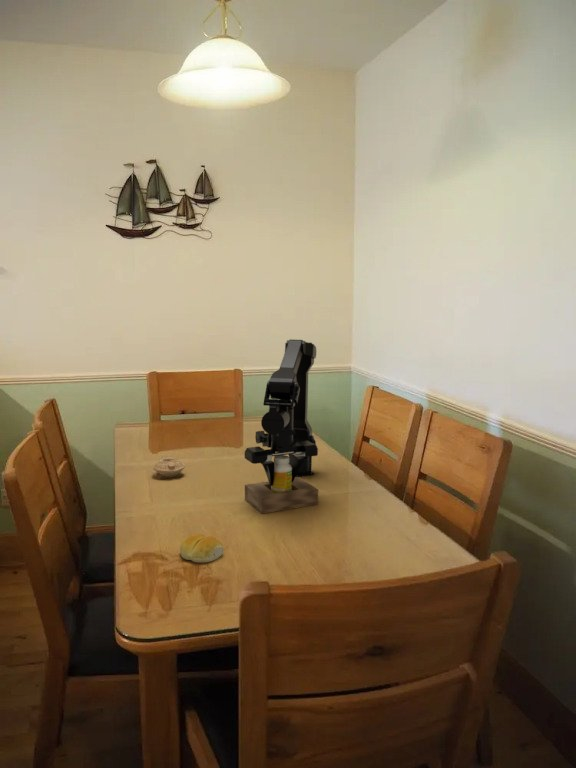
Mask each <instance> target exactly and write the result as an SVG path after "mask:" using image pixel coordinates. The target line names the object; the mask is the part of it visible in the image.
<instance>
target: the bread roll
mask: <svg viewBox="0 0 576 768" xmlns="http://www.w3.org/2000/svg"><path fill="white" fill-rule="evenodd" d="M179 550H180V551H179V552H180V556H181V557H182V558H183V559H184V560H187V561H192V562H194V563H201V564H202V563H203V564H204V563H210V562H213V561H216V560H218V559H219V558H220V557H221V556H222V555H223V554H224V551H225V550H224V545H223V543H222V542H221V541H220V540H219V539H217V538H216V537H213V536H206V535H204V534H201V533H198V534H197V533H196V534H195V533H194V534H191V535H189V536H187V537H185V538H184V539H183V540H182V541H181V544H180V547H179Z"/></svg>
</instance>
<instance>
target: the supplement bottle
mask: <svg viewBox="0 0 576 768" xmlns="http://www.w3.org/2000/svg"><path fill="white" fill-rule="evenodd" d="M273 462H274V463H275V464H274V482H273V485H272V486H271V491H273V492H274V493H279V492H285V491H292V467H291V465H290V464H288V463H289V455H280V456H273Z"/></svg>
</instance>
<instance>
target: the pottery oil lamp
mask: <svg viewBox="0 0 576 768" xmlns="http://www.w3.org/2000/svg"><path fill="white" fill-rule="evenodd" d="M185 468H186V464H184V463H183V461H182V460H180V459H179V458H174V457H171V456H169V455H167V456H162V457H161V459H159V460H158V461H157V462H156V463H155V464H154V465H153V467H152V469H153V470H154V471H155V472H156V473H158V474H159V475H161V476H162V477H166V478H172V477H176V476H177V475H178V474H179V473H181V472H182V471H184V469H185Z"/></svg>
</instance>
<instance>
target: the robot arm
mask: <svg viewBox="0 0 576 768" xmlns="http://www.w3.org/2000/svg"><path fill="white" fill-rule="evenodd" d="M284 344H285V345H284V354H283V358H282V359H281V363H280V366H279V369H277V370H276V371H274V372H272V373H271V376H270V378H269V380H267V382H266V388H265V393H264V399H263V404H262V405H263V406H266V407H267V406H268V411H267V412H266V413H264V414H263V416H262V417H261V422H260V424H261V427H262V429H263V430H258V431H255V436H254V437H255V443H256V444H258V445H259V444H262V447H261V446H251V447H247V448H246V449H245V450H244V459H245V460H247V461H248V462H250V463H251V464H255V465H256V464H261V465H262V467H263V469H264V471H265V475H266V477H267V482H269V483H270V485H271V486H272V485H273V482H274V464H275V463H274V460H273V461H272V458H273V457H275V456H280V455H285V456H288V457H289V463H288V464H290V465H291V467H292V482H293V481H294V479H295V478H297V477H304V476H307V475H308V476H310V475H314V474H315V472H314V471H312V464H313V463H312V462H313V461H312V460H313V457H318V455H319V449H318V445H317V443H316V442H317V441H316V439H315V436H314V435H313V428H312V426H311V424H310V423H309V421H308V399H309V372H310V370H311V368H312V367H313V365H314V363H315V360H316V359H317V358H316V357H317V346H316V345H315V344H314V343H313V342H307V341H306V340H303V339H291V338H290V339H289V340H288V339H287V340H286V342H285V343H284ZM265 432H266V433H265ZM263 447H264V448H263ZM265 447H266V448H267V449H265ZM269 448H270V449H269Z"/></svg>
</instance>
